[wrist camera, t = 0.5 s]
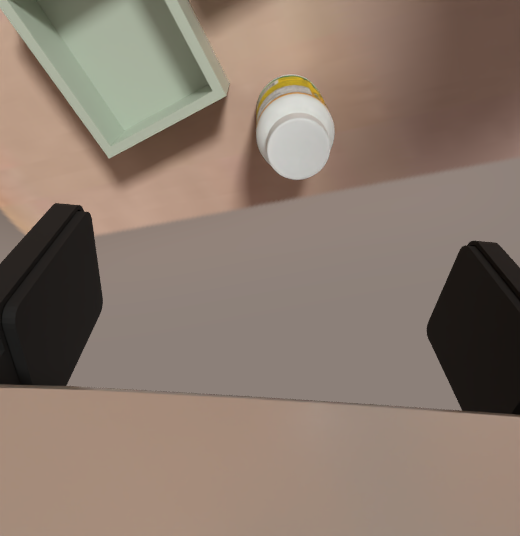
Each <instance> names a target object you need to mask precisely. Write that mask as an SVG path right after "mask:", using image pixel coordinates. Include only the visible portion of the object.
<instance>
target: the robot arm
mask: <svg viewBox="0 0 520 536" xmlns="http://www.w3.org/2000/svg"><path fill="white" fill-rule="evenodd" d="M102 304H103V298H102V290H101V283H100V276H99V269H98V262H97V254H96V247H95V240H94V232H93V225H92V218H91V215H90V213H89V212H84V210H83V208H82V207H81V206H80V205H70V204H59V203H55V204H54V205H53V206H52V207H51V208H50V209H49V210H48V211H47V212H46V213H45V215H44V216H43V217H42V218H41V219H40V220H39V221H38V222H37V223H36V225H35V226H34V227H33V228H32V229H31V230H30V231H29V232H28V233H27V235H26V236H25V237H24V238H23V239H22V240H21V241H20V242H19V243H18V245H17V246H16V247H15V248H14V249H13V250H12V251H11V252H10V254H9V255H8V256H7V257H6V258H5V259H4V260H3V261H2V262H1V264H0V536H520V268H519V267H518V265H517V264H516V263H515V262H514V261H513V260H512V259H511V258H510V257H509V255H508V254H507V253H506V252H505V251H504V250H503V249H502V248H501V247H500V246H499V245H498V244H497V243H492V242H481V241H471V242H470V243H469V244H468V245H467V246H463V247H462V248H461V249H460V251H459V253H458V256H457V258H456V260H455V262H454V265H453V267H452V269H451V271H450V274H449V276H448V278H447V281H446V283H445V285H444V287H443V290H442V292H441V294H440V297H439V299H438V301H437V304H436V306H435V308H434V310H433V313H432V315H431V317H430V320H429V322H428V325H427V336H428V339H429V341H430V343H431V345H432V347H433V349H434V351H435V353H436V355H437V358H438V360H439V362H440V364H441V366H442V368H443V370H444V372H445V375H446V377H447V379H448V381H449V383H450V385H451V387H452V390H453V391H454V394H455V396H456V398H457V400H458V402H459V404H460V406H461V409H462V411H459V410H445V409H431V408H417V407H402V406H388V405H373V404H358V403H341V402H327V401H312V400H296V399H280V398H263V397H249V396H232V395H215V394H197V393H180V392H164V391H163V392H162V391H147V390H128V389H112V388H95V387H94V388H93V387H76V386H66V385H67V383H68V381H69V379H70V377H71V374H72V372H73V370H74V368H75V366H76V364H77V362H78V360H79V357H80V355H81V353H82V351H83V349H84V347H85V345H86V343H87V341H88V338H89V336H90V334H91V332H92V330H93V327H94V326H95V324H96V321H97V319H98V317H99V315H100V312H101V310H102Z"/></svg>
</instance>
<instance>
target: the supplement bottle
mask: <svg viewBox="0 0 520 536" xmlns="http://www.w3.org/2000/svg"><path fill="white" fill-rule="evenodd" d="M334 135H335V130H334V123H333V119H332V117H331V114H330V112H329V110H328V108H327V106H326V104H325V102H324V100H323V98H322V96H321V94H320V92H319V91H318V89H317V88H316V87H315V86H314V84H313V83H312V82H311V81H309V80H308V79H306V78H305V77H302V76H299V75H294V74H290V75H283V76H280V77H277V78H275V79H274V80H272V81H271V82H269V83H268V84H267V85H266V86H265V88H264V89H263V90H262V92H261V94H260V96H259V98H258V102H257V108H256V140H257V145H258V148H259V151H260V153H261V155H262V156H263V158H264V159H265V160H266V161H267V162H268V163H269V164H270V165H271V166H272V168H273V169H274V170H275V171H276V172H277V173H278V174H279V175H281V176H283V177H285V178H288V179H292V180H302V179H307V178H309V177H311V176H313V175H315V174H317V173H318V172H319V171H320V170H321V169H322V168H323V167H324V165H325V164H326V162H327V160H328V158H329V154H330V150H331V148H332V145H333V141H334Z"/></svg>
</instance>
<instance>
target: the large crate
mask: <svg viewBox="0 0 520 536" xmlns="http://www.w3.org/2000/svg"><path fill="white" fill-rule="evenodd" d="M0 8H1V10H2V11H3V13H4V14H5V15H6V17H7V18H8V19H9V21H10V22H11V24H12V25H13V26H14V28H15V29H16V31H17V32H18V33H19V35H20V36H21V37H22V39H23V40H24V42H25V43H26V44H27V46H28V47H29V49H30V50H31V51H32V53H33V54H34V55H35V57H36V58H37V60H38V61H39V62H40V64H41V65H42V67H43V68H44V69H45V71H46V72H47V73H48V75H49V76H50V78H51V79H52V80H53V82H54V83H55V85H56V86H57V87H58V89H59V90H60V91H61V93H62V94H63V96H64V97H65V98H66V100H67V101H68V103H69V104H70V105H71V107H72V108H73V109H74V111H75V112H76V114H77V115H78V116H79V118H80V119H81V121H82V122H83V123H84V125H85V126H86V127H87V129H88V130H89V132H90V133H91V134H92V136H93V137H94V139H95V140H96V141H97V143H98V144H99V145H100V147H101V148H102V150H103V151H104V152H105V154H106V155H107V157H108V158H111V157H113V156H115V155H117V154H119V153H121V152H123V151H124V150H126V149H128V148H130V147H132V146H134V145H136V144H137V143H139V142H141V141H143V140H145V139H147V138H149V137H151V136H152V135H154V134H156V133H158V132H160V131H162V130H164V129H166V128H167V127H169V126H171V125H173V124H175V123H177V122H179V121H180V120H182V119H184V118H186V117H188V116H190V115H192V114H194V113H195V112H197V111H199V110H201V109H203V108H205V107H207V106H208V105H210V104H212V103H214V102H216V101H218V100H220V99H222V98H223V97H225V96H226V95H227V92H228V88H229V84H230V83H229V81H228V79H227V77H226V75H225V73H224V71H223V69H222V67H221V65H220V63H219V61H218V59H217V57H216V55H215V53H214V51H213V49H212V47H211V45H210V43H209V41H208V39H207V37H206V35H205V33H204V31H203V29H202V27H201V25H200V23H199V21H198V19H197V17H196V15H195V13H194V11H193V9H192V7H191V5H190V3H189V1H188V0H0Z"/></svg>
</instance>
